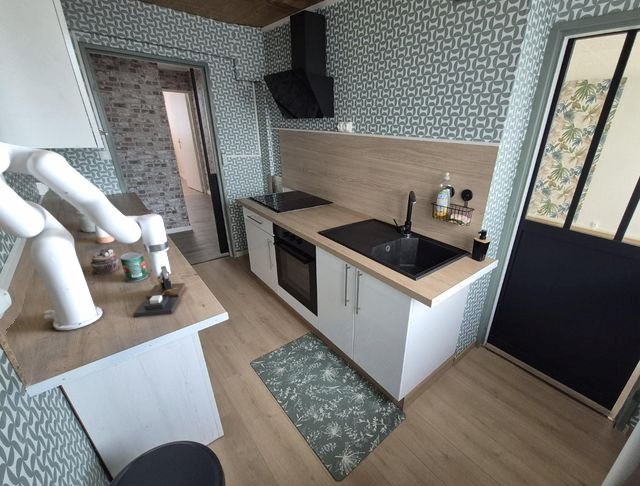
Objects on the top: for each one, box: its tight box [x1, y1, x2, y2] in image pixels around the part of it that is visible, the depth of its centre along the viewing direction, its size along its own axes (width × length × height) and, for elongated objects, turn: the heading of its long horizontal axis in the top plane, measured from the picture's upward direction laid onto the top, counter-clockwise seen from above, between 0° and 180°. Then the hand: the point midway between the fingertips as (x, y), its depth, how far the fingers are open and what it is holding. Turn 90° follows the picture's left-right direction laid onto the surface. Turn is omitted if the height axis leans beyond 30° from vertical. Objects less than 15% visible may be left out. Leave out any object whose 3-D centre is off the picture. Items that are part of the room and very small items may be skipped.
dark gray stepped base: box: [133, 296, 181, 318], centre depth 110 cm, size 12×9×4 cm
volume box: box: [145, 282, 187, 300], centre depth 120 cm, size 11×9×3 cm
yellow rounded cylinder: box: [157, 276, 172, 292], centre depth 118 cm, size 4×4×5 cm
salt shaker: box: [94, 224, 115, 244], centre depth 163 cm, size 7×7×19 cm
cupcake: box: [90, 248, 119, 275], centre depth 134 cm, size 10×10×10 cm
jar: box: [75, 210, 96, 233], centre depth 179 cm, size 13×13×18 cm
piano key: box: [149, 295, 162, 304], centre depth 110 cm, size 3×3×2 cm
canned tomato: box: [119, 251, 149, 283], centre depth 129 cm, size 8×8×11 cm
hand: (165, 287), depth 119 cm, fingers closed on yellow rounded cylinder, 4 cm apart
